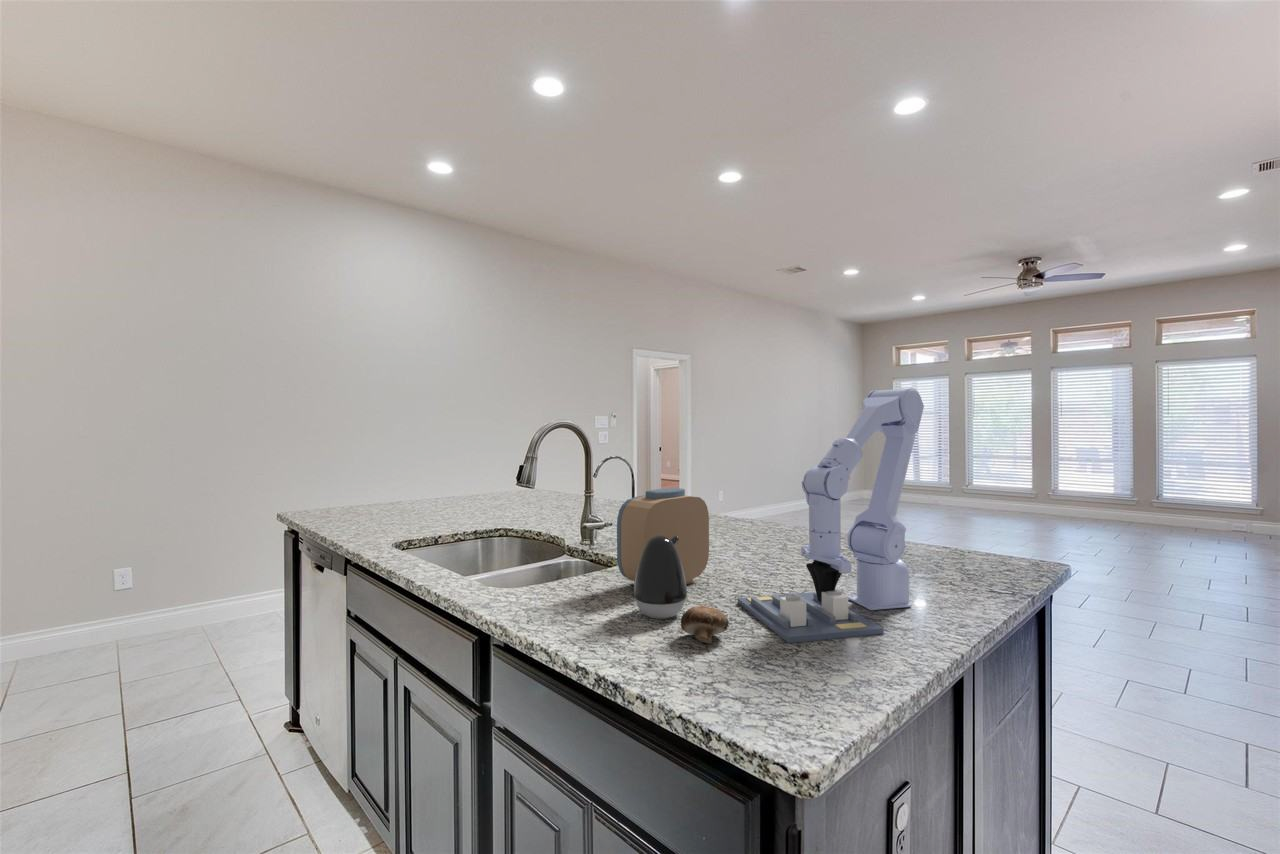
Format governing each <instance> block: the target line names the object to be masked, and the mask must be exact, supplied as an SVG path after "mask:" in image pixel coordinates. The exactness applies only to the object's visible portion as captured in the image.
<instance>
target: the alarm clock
mask: <svg viewBox="0 0 1280 854" xmlns="http://www.w3.org/2000/svg"><path fill="white" fill-rule="evenodd" d="M655 536H665V537H667V538H669V539H670V540H671V539H672V538H673V537H675V536H677V537H678V538H679V540H678V541H677V543H676V544H675V545H674V546H675V547H676V549H677V552H678V554H679V557H680V560H681V563H682V567H683V570H684V575H685V581H686V585H690V584H693V582H694V579H696V578H697V577H699V576H701V575H702V573H703V572H704V571H705V570H706V567H707V565H708V562H709V557H710V556H709V555H710V516H709V509H708V506H707V503H706V502H705V500H704V499H703V498H702V497H699V496H693V495H691V496H690V495H686V490H685V489H684V488H679V487H670V488H669V487H668V488H658V489H657V488H655V489H652V490H651V489H650V490H647V491H645V495H638V496H634V497H632V498H629V499H627V500H626V501H624V502H623V503H622V505H621V507H620V509H619V510H618V514H617V518H616V559H617V566H618V571H619V572H620V574H621V575H622V577H624V578H626V579H627V580H629V581H632V582H633V584H634V585H635V578H636V572H637V568H638V564H639V561H640V558H641V555H642V552H643V550H644V548H645V546H646V544H647V542H648V541H649V540H650V539H651V538H653V537H655ZM634 585H633V586H634Z"/></svg>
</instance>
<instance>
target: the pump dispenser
mask: <svg viewBox="0 0 1280 854" xmlns="http://www.w3.org/2000/svg"><path fill="white" fill-rule="evenodd" d="M678 540H679V538H678V537H677V536H675V537H673V538H672V539H671V540H670V539H669V538H667V537H665V536H655V537H653V538H651V539H650V540H649V541H648V542H647V544H646V546H645V548H644V550H643V552H642V555H641V558H640V561H639V564H638V568H637V572H636V578H635V585H633V597H634V599H635V602H636V606H637V607H638V609H639V611H640V612H641V613H642V614H643V615H645V616H647V617H648V618H651V619H655V620H666V619H671V618H672V617H675V616H676V615H678V614H679V613H680V612H681V610H682V609H683V607H684V605H685V601H686V599H687V598H688V590H687V589H688V588H687V584H686V581H685V575H684V570H683V567H682V563H681V560H680V557H679V554H678V552H677V549H676V547H675V546H674V545H675V544H676V543H677V541H678Z"/></svg>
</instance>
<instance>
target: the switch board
mask: <svg viewBox="0 0 1280 854" xmlns="http://www.w3.org/2000/svg"><path fill="white" fill-rule="evenodd" d="M787 596H800V599H801V600H802V601H804V602H806V626H796V627H790V626H789V620H787V619H786V618H784V617H783V616H782V615H780V597H787ZM737 604H738V605H739V606H741V607H742V608H743V609H744V610H745V611H747V612H748V613H750V614H751V615H752V616H753V617H755V619H757V620H758V621H759V622H761V623H762V624H763V625H764V626H767V627H768V629H770V630H771V631H772V632H773V633H775V634H776V635H778V637H780V638H782V640H783V641H785V642H786V643H788V644H791V643H792V644H793V643H803V642H812V641H813V642H815V641H823V640H834V639H845V638H854V637H864V636H865V637H866V636H873V635H874V636H877V635H884V627H882V626H881V625H879V624H877V623H876V622H874V621H872V620H870V619H867V618H865V617H864V616H862V615H861V614H858V613H857V612H855V611H853V610H851V609H850V608H848V619H845V620H836V617H835V616H833V615H832V614H830V613H828V612H827V611H825V610H823V609H822V603H821V602H819V601H818V598H817V594H816V591H814V592H811V591H810V592H803V593H802V592H800V593H798V592H797V593H787V594H774V595H760V596H748V597H737Z"/></svg>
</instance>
